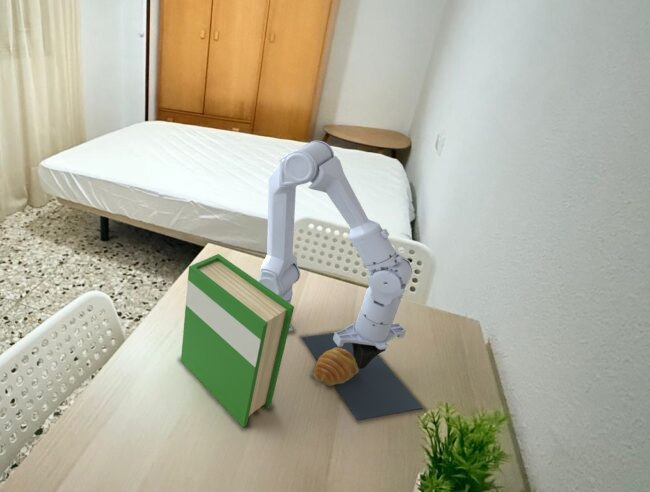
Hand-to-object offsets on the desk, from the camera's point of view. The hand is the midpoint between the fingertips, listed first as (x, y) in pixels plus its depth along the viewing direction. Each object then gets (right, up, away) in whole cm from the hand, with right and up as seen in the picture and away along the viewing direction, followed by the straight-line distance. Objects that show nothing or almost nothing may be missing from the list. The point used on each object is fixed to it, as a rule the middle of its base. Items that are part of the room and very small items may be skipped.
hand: (358, 364), depth 83 cm
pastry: (-5, -2, 0) cm, 5 cm away
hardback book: (-28, -2, -3) cm, 29 cm away
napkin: (0, -1, +1) cm, 2 cm away
